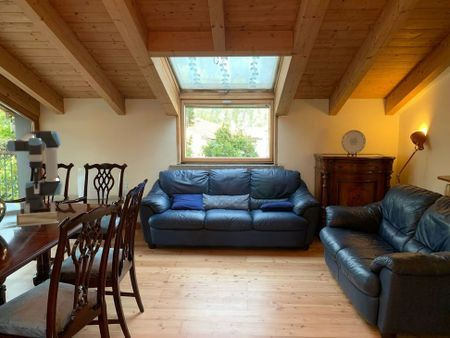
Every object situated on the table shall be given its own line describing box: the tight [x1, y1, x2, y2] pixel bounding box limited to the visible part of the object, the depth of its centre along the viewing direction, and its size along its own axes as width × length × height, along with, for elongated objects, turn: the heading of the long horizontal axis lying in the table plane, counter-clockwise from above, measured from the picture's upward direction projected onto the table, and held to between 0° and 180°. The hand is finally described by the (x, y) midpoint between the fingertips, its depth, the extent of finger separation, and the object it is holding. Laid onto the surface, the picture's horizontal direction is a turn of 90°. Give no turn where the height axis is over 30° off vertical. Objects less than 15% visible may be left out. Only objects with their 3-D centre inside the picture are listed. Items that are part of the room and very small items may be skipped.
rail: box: [16, 210, 60, 226], centre depth 210 cm, size 4×24×6 cm, turn 120°
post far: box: [50, 201, 56, 212], centre depth 226 cm, size 6×5×11 cm
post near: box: [23, 203, 31, 214], centre depth 218 cm, size 6×5×11 cm
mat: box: [16, 220, 60, 228], centre depth 210 cm, size 10×24×1 cm, turn 120°
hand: (36, 192), depth 210 cm, fingers open, 13 cm apart
